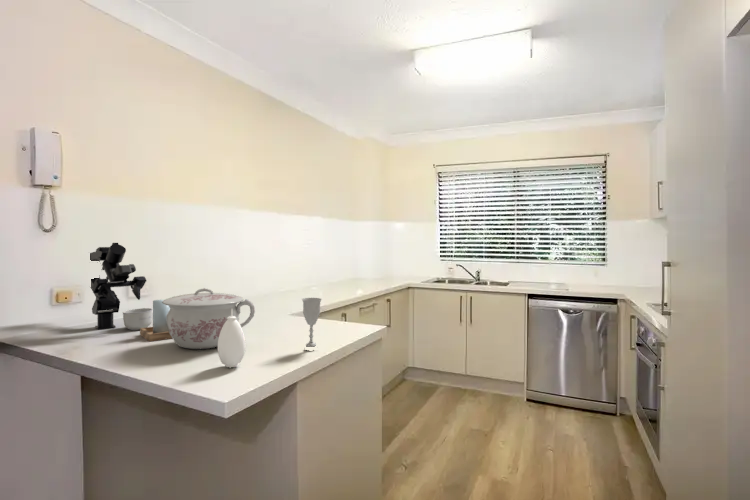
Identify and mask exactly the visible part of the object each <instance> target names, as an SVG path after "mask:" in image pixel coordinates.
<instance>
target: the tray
mask: <svg viewBox="0 0 750 500" xmlns="http://www.w3.org/2000/svg"><path fill="white" fill-rule="evenodd" d="M139 336H141V337H142V338H144V339H145V340H147V341H148V342H149V343H150V342H157V341H163V340H164V341H165V340H171V339H172V340H173V338H172V337H171V335H170V334H169V332H162V333H154V334H153V326H148V327H147V328H140V330H139Z"/></svg>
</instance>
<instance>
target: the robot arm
mask: <svg viewBox="0 0 750 500" xmlns="http://www.w3.org/2000/svg"><path fill="white" fill-rule="evenodd" d="M126 252H127V249H126V247H124V246H123V245H122V244H119V242H112V244H111V245H110V246H98V247H97V248H96V249H95V251H93V252H89V253H90V260H91V261H99V262H102V264H101V266H102V269H101V271H104V272H105V274H106V277H105V278H101V276H99V278H94V279H91V287H90V289H91V291H92V293H93V294H94V296H95V300H94V302H93V305H92V308H91V312H92V315H95V316H97V317H96V319H97V320H96V321H97V325H95V328H96V329H97V330H104V329H113V328H116V325H115V324H114V314H115V313H119V311H120V304H121V301H120V299H119V297H118V295H117V294H116V293H115V291H114V290H112V288H121V287H123V288H124V287H130V288H131V289H132V290H131V292H132V293H133V295H134V296H135V298H136V299H137V300H138V301H140V299H141V289H144V286H145V284H146V282H147V279H146V276H145V275H143V276H141V275H140V276H134V277H133V278H132V280H128V279H129V278H130V274H132V273H135V272H136V271H137V267H136V266H135V264H133V263H131V264H130V263H129V264H122V265H121V264H120V263H122V262H123V259H124V257H125V254H126Z"/></svg>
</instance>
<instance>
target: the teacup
mask: <svg viewBox="0 0 750 500" xmlns="http://www.w3.org/2000/svg"><path fill="white" fill-rule="evenodd" d="M122 317H123V325H124V327H126V328H127V329H128V330H129V331H140V328H147V327H150V325H151V324H153V308H149V307H147V308H145V307H142V308H133V309H127V310H124V311H122Z"/></svg>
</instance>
